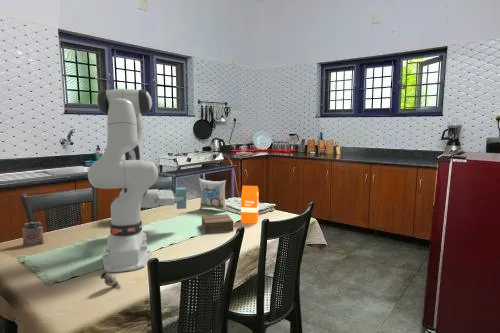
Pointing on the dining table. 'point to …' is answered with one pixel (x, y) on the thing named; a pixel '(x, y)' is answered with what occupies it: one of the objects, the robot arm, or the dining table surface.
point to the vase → (110, 280)
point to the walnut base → (217, 223)
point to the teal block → (181, 203)
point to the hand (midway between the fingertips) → (183, 196)
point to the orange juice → (249, 204)
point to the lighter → (32, 234)
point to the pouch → (212, 194)
